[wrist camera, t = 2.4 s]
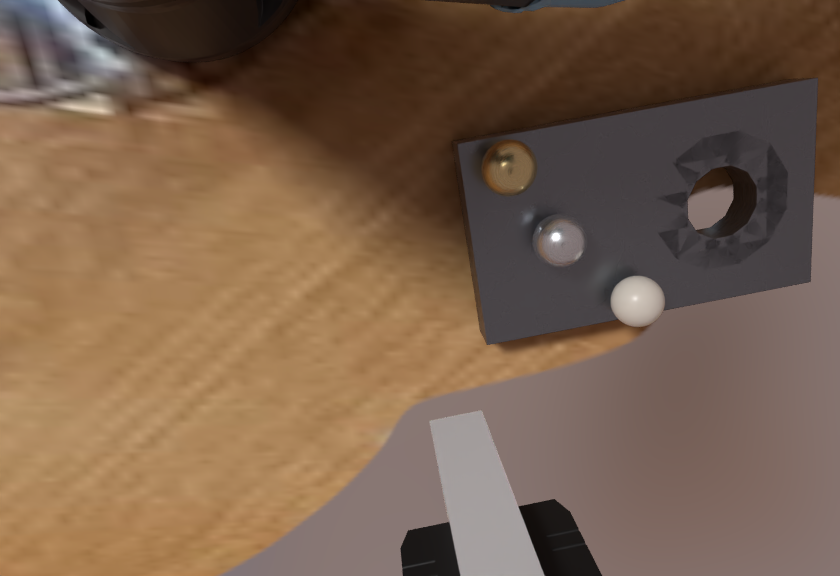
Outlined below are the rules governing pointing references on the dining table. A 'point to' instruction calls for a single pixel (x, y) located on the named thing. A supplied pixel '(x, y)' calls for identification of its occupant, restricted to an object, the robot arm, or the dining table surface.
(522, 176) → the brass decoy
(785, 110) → the plate
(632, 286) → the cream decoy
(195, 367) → the dining table surface
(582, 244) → the steel ball
